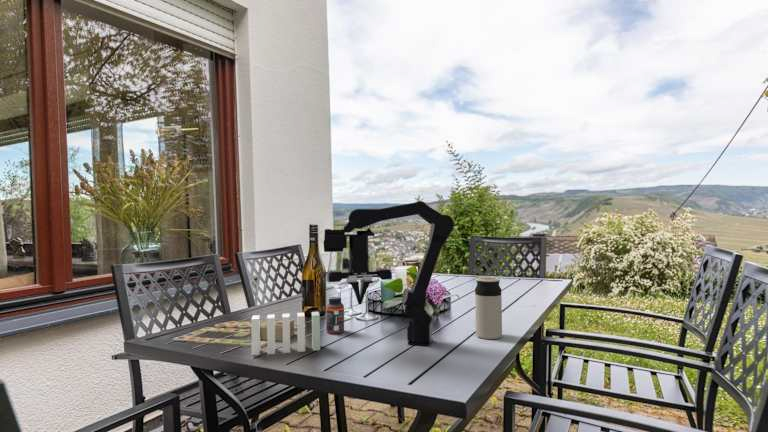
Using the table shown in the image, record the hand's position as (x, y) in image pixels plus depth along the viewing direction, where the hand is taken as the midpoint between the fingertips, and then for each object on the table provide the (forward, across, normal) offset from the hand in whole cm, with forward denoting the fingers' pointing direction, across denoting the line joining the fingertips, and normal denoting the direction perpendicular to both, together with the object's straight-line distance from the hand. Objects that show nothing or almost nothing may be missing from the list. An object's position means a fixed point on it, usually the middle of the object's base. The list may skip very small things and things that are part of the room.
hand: (359, 304), depth 132 cm
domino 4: (+12, +17, 0) cm, 21 cm away
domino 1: (+12, +30, 0) cm, 32 cm away
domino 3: (+12, +22, 0) cm, 25 cm away
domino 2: (+12, +26, 0) cm, 28 cm away
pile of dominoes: (+13, +35, -23) cm, 44 cm away
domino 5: (+12, +13, 0) cm, 18 cm away
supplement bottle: (+12, +6, -17) cm, 21 cm away
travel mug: (+12, -40, +2) cm, 42 cm away
